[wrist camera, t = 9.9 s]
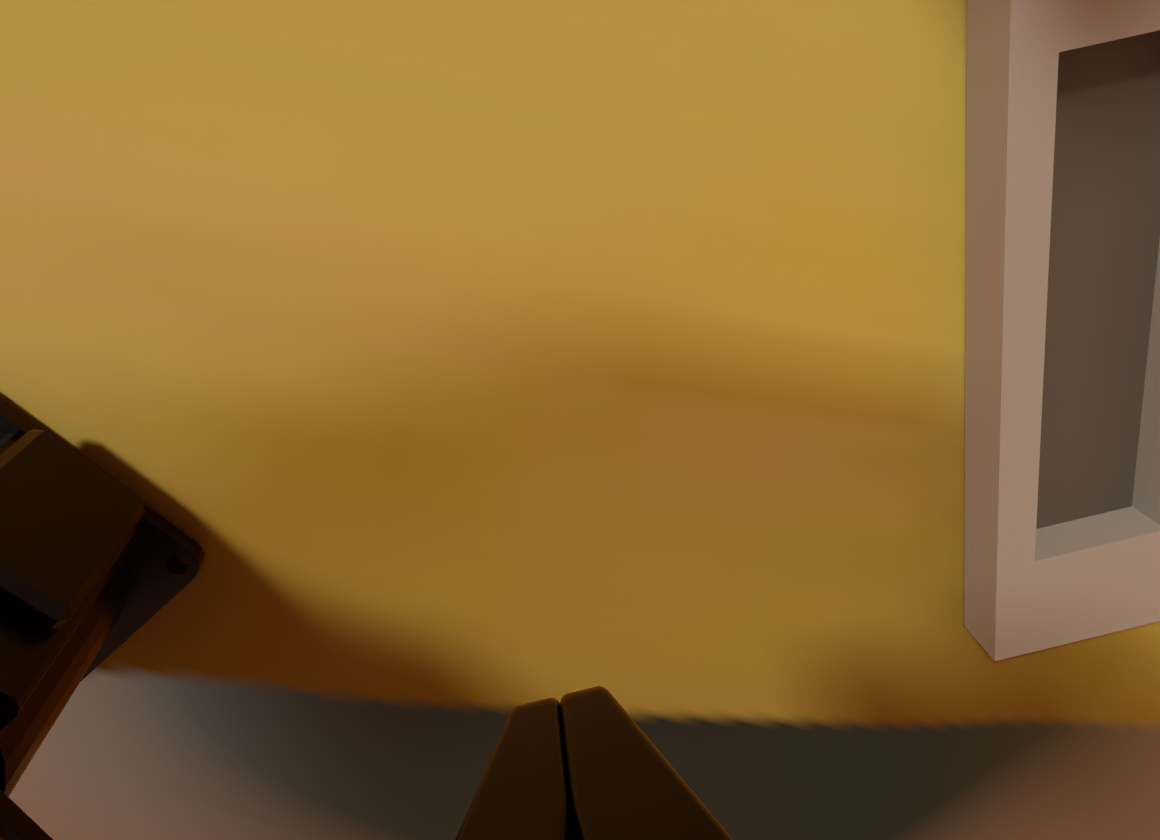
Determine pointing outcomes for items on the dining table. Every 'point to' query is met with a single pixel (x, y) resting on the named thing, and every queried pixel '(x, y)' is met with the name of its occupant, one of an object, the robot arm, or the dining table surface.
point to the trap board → (1061, 321)
